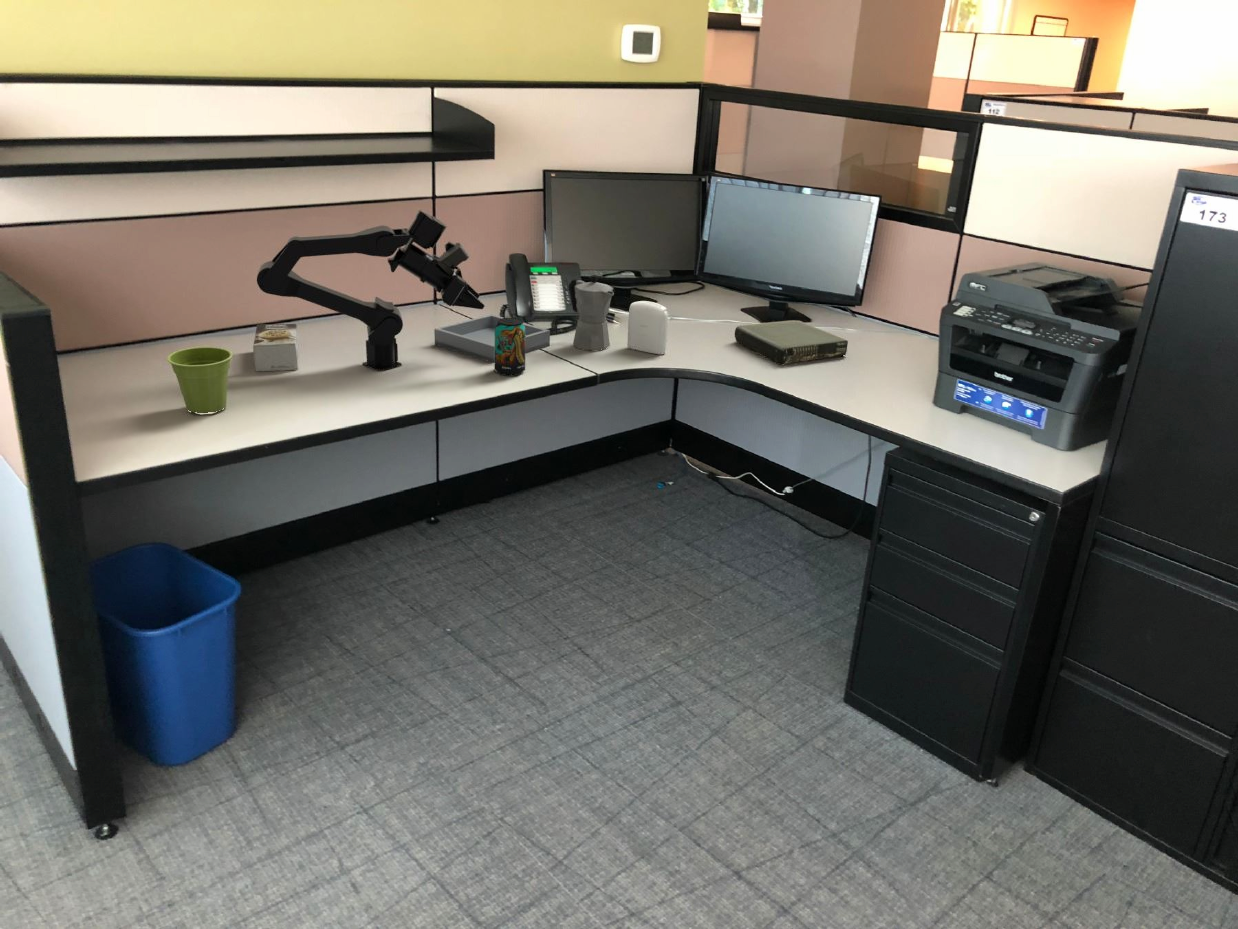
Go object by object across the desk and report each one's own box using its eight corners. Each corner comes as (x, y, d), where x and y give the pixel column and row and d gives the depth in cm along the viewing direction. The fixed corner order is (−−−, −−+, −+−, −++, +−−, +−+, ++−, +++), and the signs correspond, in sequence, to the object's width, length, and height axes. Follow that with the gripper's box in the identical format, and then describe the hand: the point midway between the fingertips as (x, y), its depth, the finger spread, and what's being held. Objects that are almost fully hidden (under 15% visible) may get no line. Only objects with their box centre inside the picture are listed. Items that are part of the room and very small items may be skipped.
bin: (493, 362, 238) (493, 346, 236) (434, 344, 249) (434, 328, 247) (549, 345, 253) (550, 330, 251) (491, 329, 264) (491, 314, 262)
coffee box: (252, 344, 221) (255, 324, 235) (255, 372, 223) (258, 350, 237) (296, 342, 223) (296, 322, 237) (298, 370, 226) (298, 348, 240)
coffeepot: (623, 348, 254) (627, 277, 247) (596, 355, 248) (599, 282, 240) (581, 334, 264) (583, 265, 256) (554, 340, 257) (556, 270, 250)
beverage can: (510, 378, 228) (511, 326, 224) (488, 371, 232) (488, 320, 227) (531, 371, 233) (532, 321, 229) (509, 364, 237) (509, 315, 233)
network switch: (788, 370, 246) (790, 350, 244) (724, 345, 263) (725, 326, 261) (853, 357, 259) (856, 338, 257) (788, 334, 276) (790, 316, 274)
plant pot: (164, 407, 201) (156, 353, 196) (222, 395, 209) (216, 343, 204) (189, 425, 193) (182, 368, 189) (248, 412, 201) (243, 357, 197)
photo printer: (624, 348, 254) (626, 300, 249) (632, 344, 258) (635, 296, 253) (660, 356, 250) (663, 307, 245) (668, 352, 253) (672, 303, 248)
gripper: (445, 243, 215) (506, 282, 222) (438, 226, 232) (494, 263, 238) (417, 286, 217) (478, 324, 224) (412, 267, 234) (469, 302, 241)
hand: (481, 302), depth 232 cm, fingers open, 9 cm apart
